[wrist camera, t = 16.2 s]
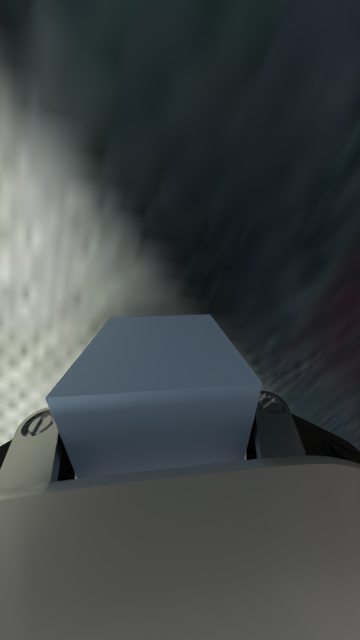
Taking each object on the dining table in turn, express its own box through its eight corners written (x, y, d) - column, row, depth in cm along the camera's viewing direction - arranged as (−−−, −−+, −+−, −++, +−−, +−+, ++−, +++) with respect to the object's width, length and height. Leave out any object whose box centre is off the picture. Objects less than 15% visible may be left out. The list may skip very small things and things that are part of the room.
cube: (209, 314, 10) (262, 383, 5) (204, 388, 13) (236, 493, 7) (111, 317, 10) (45, 398, 4) (123, 393, 12) (90, 511, 7)
